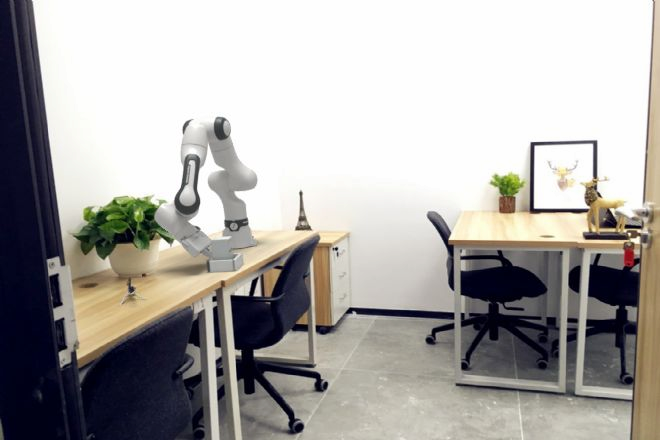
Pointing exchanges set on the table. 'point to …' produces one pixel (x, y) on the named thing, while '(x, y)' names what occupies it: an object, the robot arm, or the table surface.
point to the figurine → (130, 291)
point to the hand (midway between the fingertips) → (212, 257)
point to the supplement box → (222, 248)
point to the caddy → (225, 264)
